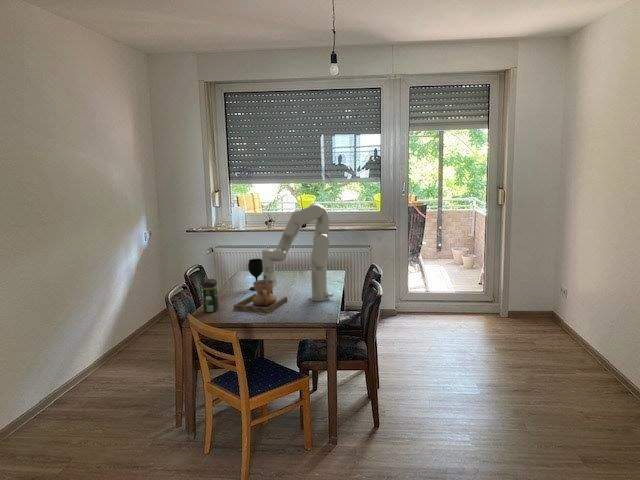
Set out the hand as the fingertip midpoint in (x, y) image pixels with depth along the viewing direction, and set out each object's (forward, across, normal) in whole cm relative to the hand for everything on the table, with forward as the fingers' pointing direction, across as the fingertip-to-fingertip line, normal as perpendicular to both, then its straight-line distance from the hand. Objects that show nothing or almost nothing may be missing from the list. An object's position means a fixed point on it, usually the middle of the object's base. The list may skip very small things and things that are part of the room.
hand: (270, 297), depth 311 cm
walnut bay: (+2, -11, 0) cm, 11 cm away
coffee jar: (+2, -29, +24) cm, 38 cm away
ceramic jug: (+2, -9, -1) cm, 10 cm away
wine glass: (+2, +23, +22) cm, 32 cm away
